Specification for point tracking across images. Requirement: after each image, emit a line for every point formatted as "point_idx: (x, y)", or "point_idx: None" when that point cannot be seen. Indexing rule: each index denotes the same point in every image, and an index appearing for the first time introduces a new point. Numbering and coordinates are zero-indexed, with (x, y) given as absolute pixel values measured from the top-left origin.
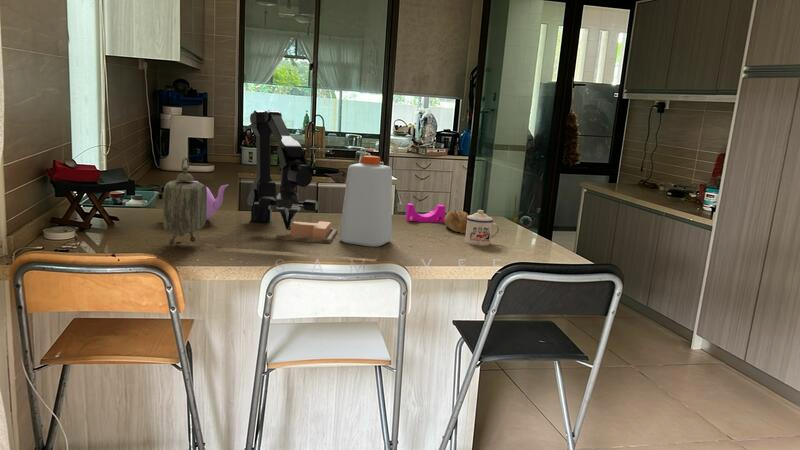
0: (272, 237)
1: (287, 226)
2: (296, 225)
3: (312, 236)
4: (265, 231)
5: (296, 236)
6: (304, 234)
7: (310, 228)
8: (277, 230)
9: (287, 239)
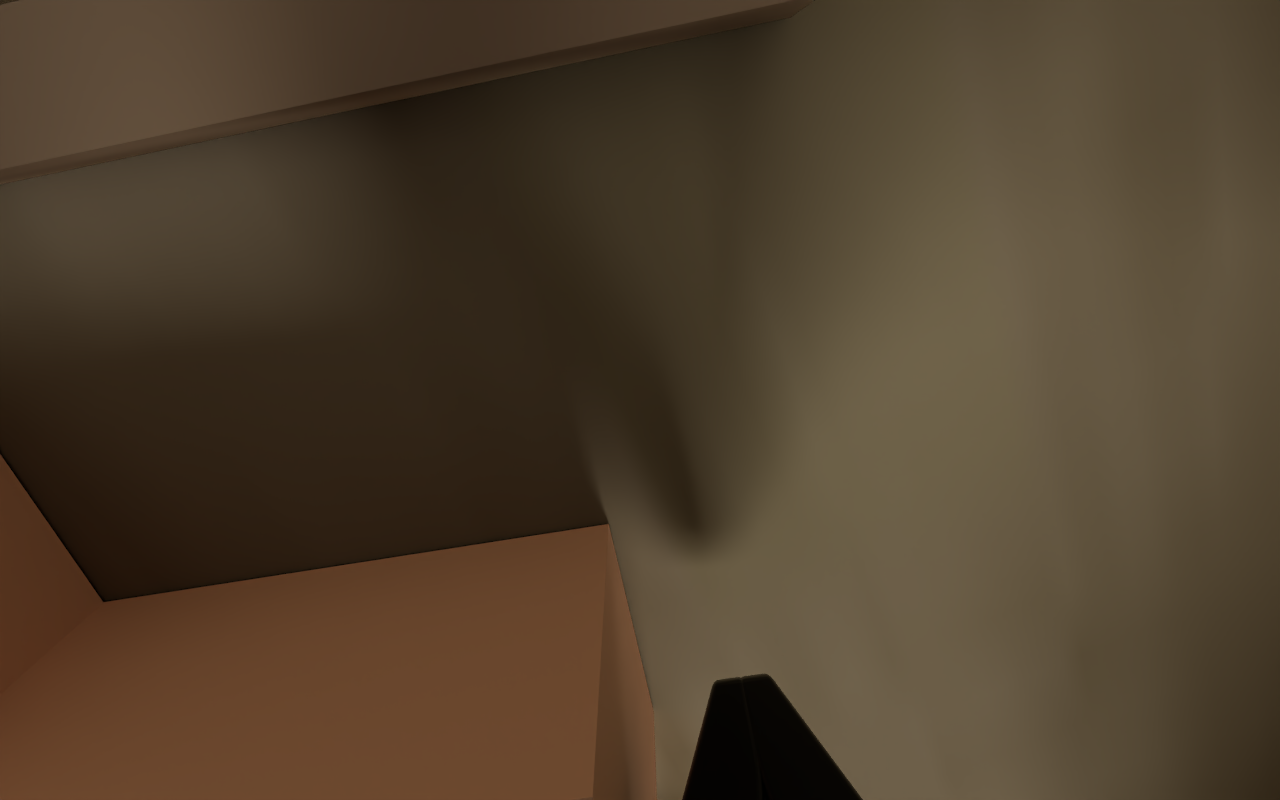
0: (945, 89)
1: (742, 736)
2: (408, 769)
3: (135, 608)
4: (1208, 602)
5: (115, 89)
6: (288, 605)
7: (20, 768)
8: (987, 758)
9: None
